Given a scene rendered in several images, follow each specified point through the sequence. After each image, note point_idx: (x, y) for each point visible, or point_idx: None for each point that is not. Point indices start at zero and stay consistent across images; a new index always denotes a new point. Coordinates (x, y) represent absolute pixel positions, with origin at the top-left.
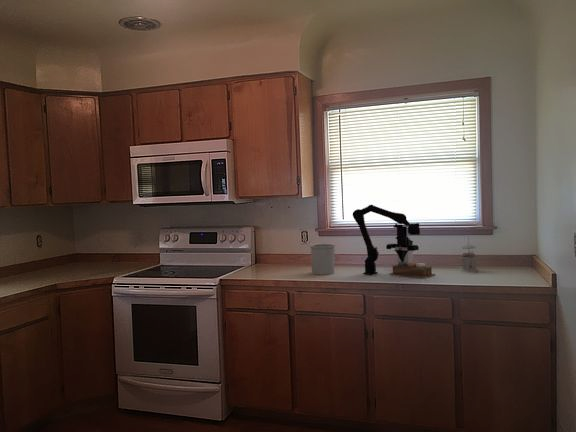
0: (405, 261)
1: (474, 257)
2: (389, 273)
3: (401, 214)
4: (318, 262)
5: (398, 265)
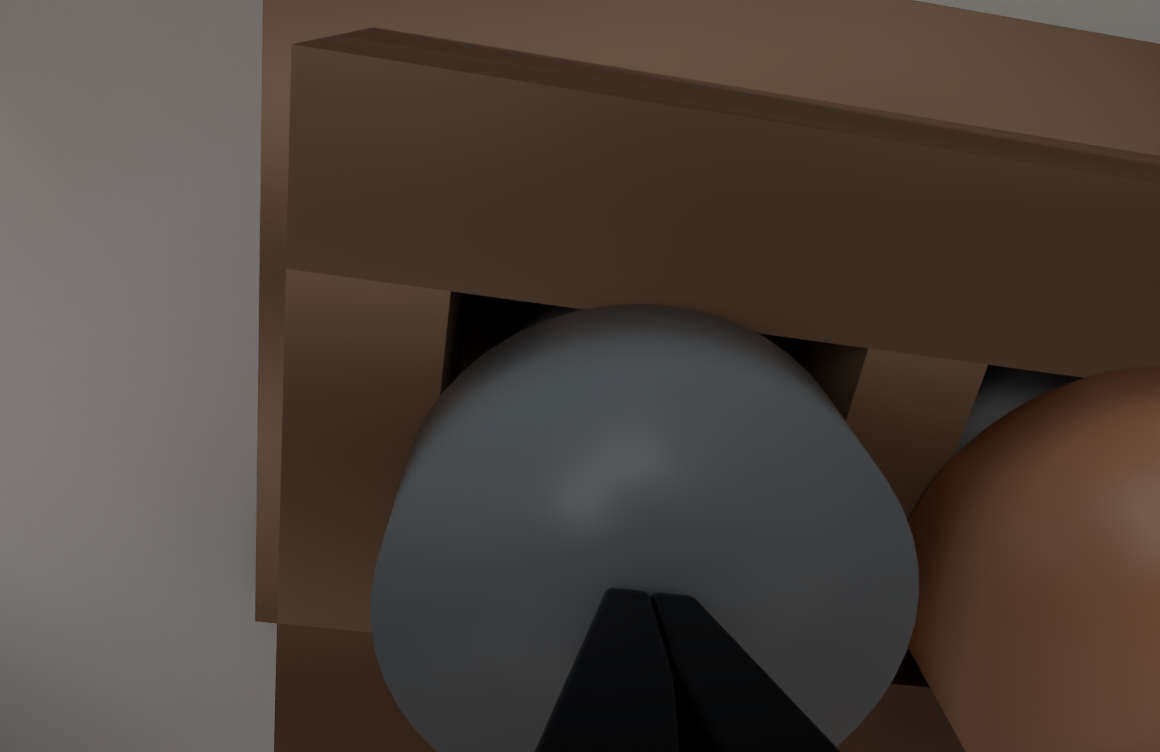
0: (772, 483)
1: None
2: (270, 622)
3: None
4: None
5: None
